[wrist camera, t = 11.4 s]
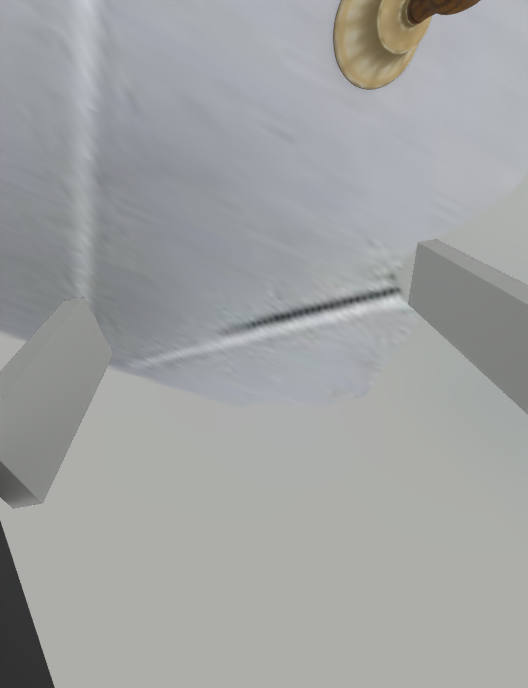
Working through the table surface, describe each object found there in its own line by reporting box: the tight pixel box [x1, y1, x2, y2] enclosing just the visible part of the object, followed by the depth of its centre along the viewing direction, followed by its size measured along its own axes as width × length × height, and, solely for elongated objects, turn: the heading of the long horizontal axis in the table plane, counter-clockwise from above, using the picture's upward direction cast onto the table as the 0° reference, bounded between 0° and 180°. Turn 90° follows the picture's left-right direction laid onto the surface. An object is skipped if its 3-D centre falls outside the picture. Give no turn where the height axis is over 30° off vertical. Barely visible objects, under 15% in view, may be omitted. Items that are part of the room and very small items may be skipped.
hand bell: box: [334, 0, 480, 89], centre depth 22 cm, size 8×8×16 cm
